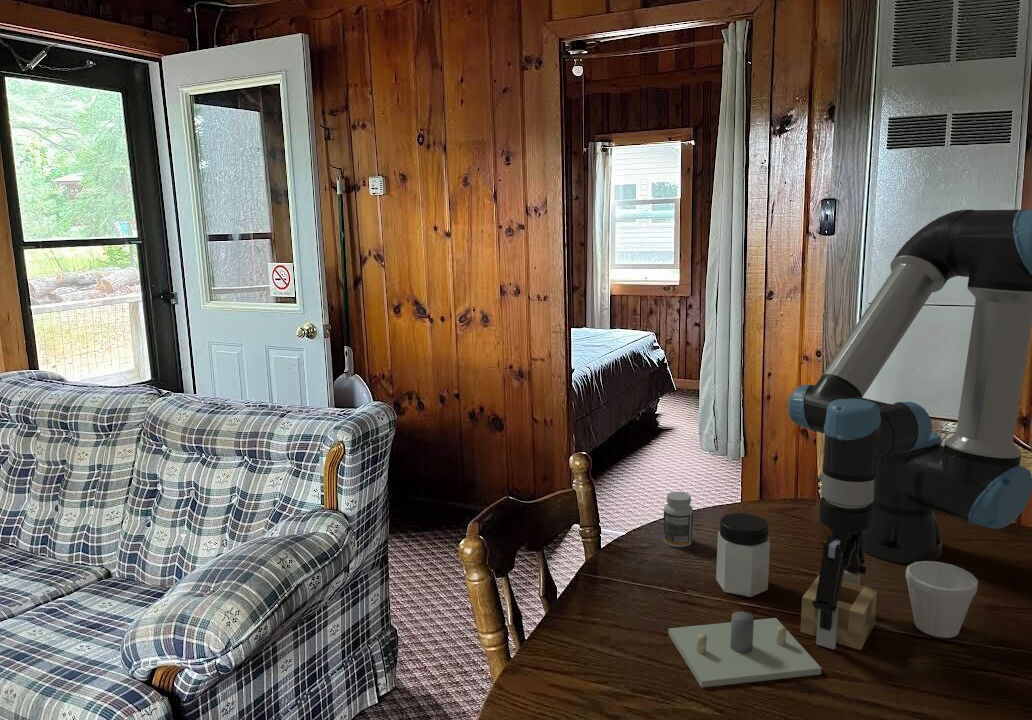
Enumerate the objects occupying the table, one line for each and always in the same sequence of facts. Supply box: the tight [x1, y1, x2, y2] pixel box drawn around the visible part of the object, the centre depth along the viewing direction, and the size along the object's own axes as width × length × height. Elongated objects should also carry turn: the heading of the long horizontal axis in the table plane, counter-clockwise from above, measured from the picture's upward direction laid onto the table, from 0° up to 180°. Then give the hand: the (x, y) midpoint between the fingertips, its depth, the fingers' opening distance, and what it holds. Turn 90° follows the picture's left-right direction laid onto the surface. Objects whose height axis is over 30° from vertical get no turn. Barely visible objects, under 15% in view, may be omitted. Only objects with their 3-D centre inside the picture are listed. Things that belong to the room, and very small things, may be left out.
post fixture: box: [668, 611, 822, 688], centre depth 117 cm, size 18×14×6 cm
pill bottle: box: [662, 491, 694, 548], centre depth 155 cm, size 6×6×10 cm
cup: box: [905, 561, 979, 640], centre depth 123 cm, size 10×10×9 cm
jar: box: [715, 512, 771, 598], centre depth 137 cm, size 9×8×12 cm
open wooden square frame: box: [799, 574, 878, 651], centre depth 124 cm, size 9×9×6 cm
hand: (837, 627), depth 124 cm, fingers open, 12 cm apart
